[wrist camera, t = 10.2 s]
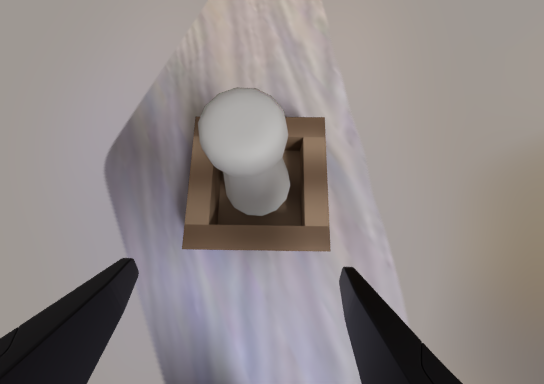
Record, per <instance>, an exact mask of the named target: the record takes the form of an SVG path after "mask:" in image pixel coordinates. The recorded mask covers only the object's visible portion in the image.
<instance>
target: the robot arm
mask: <svg viewBox="0 0 544 384" xmlns="http://www.w3.org/2000/svg"><path fill="white" fill-rule="evenodd" d="M138 274H139V272H138V269H137V266H136V263H135V261H134V259H132V258H123V259H120V260H119V261H117V262H116V263H114V264H113V265H111V266H110V267H108V268H107V269H105V270H104V271H102V272H100V273H99V274H97V275H96V276H94V277H93V278H91V279H90V280H89V281H87V282H85V283H84V284H82V285H81V286H79V287H78V288H76V289H75V290H74V291H72V292H70V293H69V294H67V295H66V296H64V297H63V298H61V299H60V300H58V301H57V302H55V303H54V304H52V305H50V306H49V307H47V308H46V309H44V310H43V311H41V312H40V313H38V314H37V315H36V316H34V317H32V318H31V319H29V320H28V321H26V322H25V323H23V324H22V325H20V326H19V328H16V329H14V330H13V331H11V332H9V333H8V334H6V335H5V336H3V337H2V338H0V384H87V382H88V380H89V378H90V376H91V374H92V372H93V371H94V369H95V366H96V365H97V363H98V361H99V359H100V357H101V355H102V353H103V351H104V349H105V347H106V345H107V343H108V341H109V339H110V338H111V336H112V334H113V332H114V330H115V328H116V326H117V324H118V322H119V320H120V318H121V316H122V314H123V312H124V310H125V307H126V305H127V303H128V300H129V298H130V295H131V293H132V290H133V288H134V285H135V283H136V280H137V278H138ZM339 285H340V291H341V298H342V304H343V311H344V317H345V322H346V326H347V330H348V334H349V337H350V341H351V345H352V349H353V352H354V356H355V360H356V364H357V367H358V371H359V375H360V379H361V382H362V384H463V383H461V382H460V381H459V380H458V379H457V378H456V377H455V376H454V375H453V374H452V373H451V372H450V371H449V370H448V369H447V368H446V367H445V366H444V365H443V364H442V362H440V360H439V359H438V358H437V357H436V356H435V355H434V354H433V353H432V352H431V351H430V350H429V349H428V348H427V347H426V345H425V344H424V343H422V342H421V340H420V339H419V338H418V337H417V336H416V335H415V334H414V333H413V331H412V330H411V329H410V328H409V327H408V326H407V325H406V324H405V323H404V322H403V321H402V320H401V318H400V317H399V316H398V315H397V314H396V313H395V312H394V311H393V310H392V309H391V308H390V306H389V305H388V304H387V303H386V302H385V301H384V300H383V299H382V298H381V297H380V296H379V295H378V293H377V292H376V291H375V290H374V289H373V288H372V287H371V286H370V285H369V284H368V283H367V281H366V280H365V279H364V278H363V277H362V276H361V275H360V274H359V273H358V272H357V271H356V270H355V269H354V268H353V267H343V269H342V272H341V276H340V279H339Z"/></svg>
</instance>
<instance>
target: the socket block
mask: <svg viewBox="0 0 544 384" xmlns="http://www.w3.org/2000/svg"><path fill="white" fill-rule="evenodd" d="M199 119H200V117H196V118H195V128H194V138H193V147H192V157H191V167H190V177H189V186H188V196H187V206H186V215H185V225H184V235H183V244H182V249H207V250H272V251H330V230H329V207H328V184H327V162H326V139H325V117H285V119H286V125H287V130H288V139H287V143H286V146H285V150H284V153H283V160H284V163H285V165H286V168H287V171H288V175H289V181H290V188H289V192H288V195H287V199H286V200H285V201H284V202H283V203H282V205H281V206H280V207H279V208H278V209H277V210H276V211H273V212H271V213H268V214H266V215H263V216H257V215H247V214H245V213H243V212H241V211H240V210H238V209H236V208H234V206H233V205H232V203H231V202H230V200H229V199H228V197H227V195H226V188H225V181H224V174H223V171H221V170H219V169H217V168H216V167H215V166H214V165H213V164H212V163H211V161H210V160H209V158H208V157H207V155H206V154H205V152H204V151H203V149H202V147H201V144H200V139H199V130H198V122H199Z"/></svg>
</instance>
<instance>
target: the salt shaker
mask: <svg viewBox="0 0 544 384" xmlns="http://www.w3.org/2000/svg"><path fill="white" fill-rule="evenodd" d="M198 130H199V139H200V144H201V147H202V149H203V151H204V152H205V154H206V155H207V157H208V158H209V160H210V161H211V163H212V164H213V165H214V166H215V167H216V168H217V169H219V170H221V171H223V174H224V181H225V188H226V195H227V197H228V199H229V200H230V202H231V203H232V205H233V206H234V208H236V209H238V210H240V211H241V212H243V213H245V214H247V215H257V216H263V215H266V214H268V213H271V212H273V211H276V210H277V209H278V208H279V207H280V206H281V205H282V203H283V202H284V201H285V200H286V199H287V195H288V192H289V188H290V181H289V175H288V171H287V168H286V165H285V163H284V160H283V153H284V150H285V146H286V143H287V139H288V130H287V125H286V119H285V114H284V110H283V109H282V108H281V107H280V105H279V104H278V103H277V102H276V101H275V99H274V98H273V97H272V96H270V95H268V94H266V93H264V92H262V91H260V90H258V89H256V88H234V89H231V90H228V91H225V92H222V93H220V94H218V95H217V96H216V97H215V98H214V99H213V100H211V101H210V102H209V103H208V104H207V105H206V106H205V108H204V110H203V112H202V115H201V117H200V119H199V122H198Z"/></svg>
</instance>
